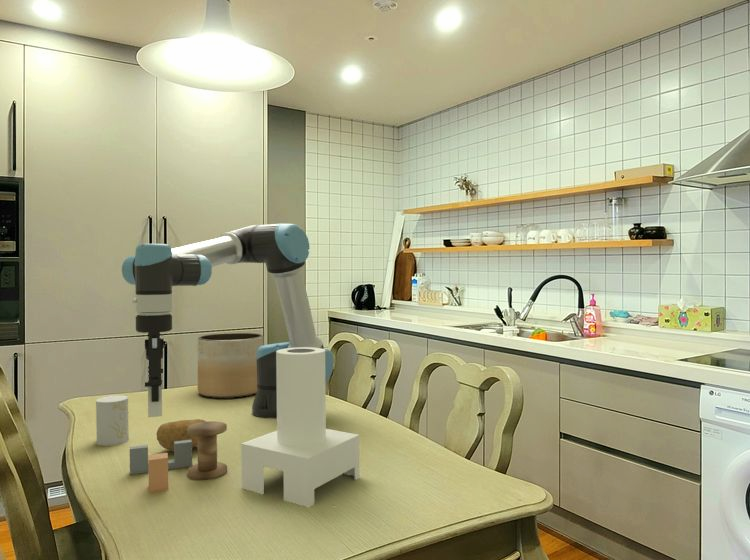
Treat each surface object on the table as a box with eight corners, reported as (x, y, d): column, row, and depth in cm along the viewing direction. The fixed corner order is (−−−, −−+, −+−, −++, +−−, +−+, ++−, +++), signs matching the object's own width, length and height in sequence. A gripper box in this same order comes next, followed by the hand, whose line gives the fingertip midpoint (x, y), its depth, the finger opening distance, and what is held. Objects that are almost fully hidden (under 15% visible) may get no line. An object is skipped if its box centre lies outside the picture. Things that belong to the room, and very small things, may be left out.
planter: (185, 398, 208) (184, 339, 208) (215, 384, 233) (215, 332, 233) (249, 401, 204) (249, 340, 203) (273, 386, 229) (273, 332, 228)
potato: (216, 449, 149) (215, 419, 149) (161, 460, 141) (161, 428, 141) (204, 440, 157) (203, 412, 157) (151, 450, 149) (151, 420, 149)
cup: (116, 446, 152) (115, 402, 152) (90, 444, 154) (89, 401, 154) (134, 437, 160) (134, 396, 160) (109, 436, 162) (109, 395, 162)
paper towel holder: (308, 507, 113) (307, 360, 112) (241, 488, 123) (240, 353, 122) (359, 477, 129) (358, 348, 128) (296, 463, 139) (295, 343, 138)
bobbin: (224, 463, 138) (223, 419, 138) (229, 476, 130) (229, 429, 130) (186, 469, 135) (185, 423, 134) (189, 482, 126) (188, 434, 126)
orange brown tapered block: (167, 483, 126) (167, 452, 126) (168, 489, 123) (168, 457, 122) (148, 486, 124) (148, 455, 124) (148, 492, 121) (148, 460, 121)
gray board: (191, 463, 138) (191, 439, 138) (192, 466, 137) (191, 441, 137) (130, 471, 133) (129, 446, 133) (129, 474, 131) (129, 449, 131)
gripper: (136, 310, 133) (137, 398, 134) (134, 318, 110) (135, 425, 111) (170, 309, 136) (170, 395, 137) (174, 317, 113) (175, 421, 113)
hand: (154, 409), depth 124 cm, fingers open, 13 cm apart
